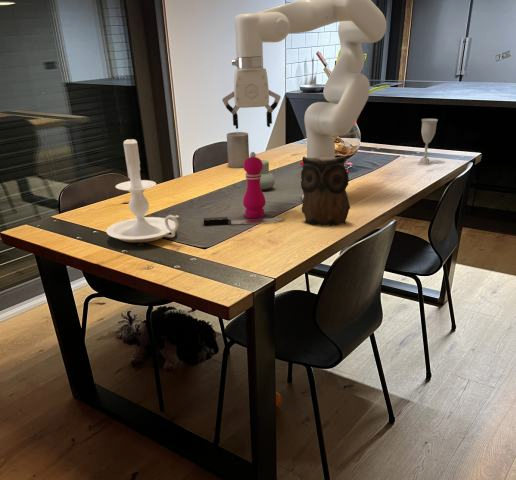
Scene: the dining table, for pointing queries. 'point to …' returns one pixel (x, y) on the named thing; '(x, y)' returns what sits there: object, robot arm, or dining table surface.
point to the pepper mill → (253, 188)
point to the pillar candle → (237, 149)
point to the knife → (237, 221)
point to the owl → (325, 191)
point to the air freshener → (266, 176)
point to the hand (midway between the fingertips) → (252, 127)
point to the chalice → (427, 136)
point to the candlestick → (140, 206)
